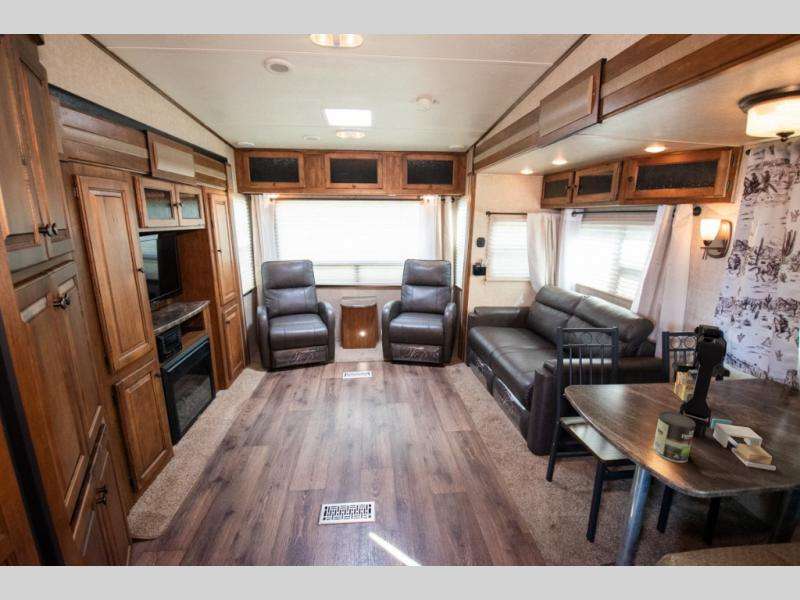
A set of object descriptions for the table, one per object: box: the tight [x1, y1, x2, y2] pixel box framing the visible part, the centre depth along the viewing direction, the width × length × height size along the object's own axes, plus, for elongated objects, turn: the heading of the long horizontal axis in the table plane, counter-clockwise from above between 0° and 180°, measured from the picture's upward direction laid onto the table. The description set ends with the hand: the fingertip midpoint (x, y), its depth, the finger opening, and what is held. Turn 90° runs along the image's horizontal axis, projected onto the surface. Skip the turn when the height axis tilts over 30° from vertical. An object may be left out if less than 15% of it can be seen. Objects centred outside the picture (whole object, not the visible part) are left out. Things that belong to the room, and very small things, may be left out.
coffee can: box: [652, 410, 696, 464], centre depth 122 cm, size 10×10×14 cm
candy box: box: [673, 363, 694, 402], centre depth 163 cm, size 9×4×15 cm, turn 165°
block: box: [736, 443, 773, 465], centre depth 118 cm, size 6×6×4 cm
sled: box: [709, 417, 777, 471], centre depth 125 cm, size 8×24×5 cm, turn 163°
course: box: [712, 423, 763, 448], centre depth 127 cm, size 10×24×7 cm, turn 163°
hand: (696, 387), depth 149 cm, fingers closed
